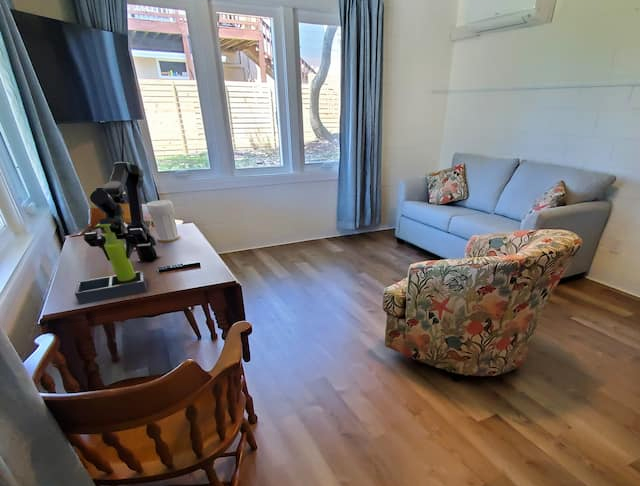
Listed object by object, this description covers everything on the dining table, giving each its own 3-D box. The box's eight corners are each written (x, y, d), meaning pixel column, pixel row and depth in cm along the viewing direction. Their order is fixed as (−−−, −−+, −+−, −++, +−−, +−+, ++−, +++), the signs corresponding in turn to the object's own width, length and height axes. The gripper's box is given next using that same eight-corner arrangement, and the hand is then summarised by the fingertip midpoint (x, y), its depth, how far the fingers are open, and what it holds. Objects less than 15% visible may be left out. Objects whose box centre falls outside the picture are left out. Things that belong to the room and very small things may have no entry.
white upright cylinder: (175, 242, 191) (165, 205, 182) (152, 242, 192) (141, 206, 182) (184, 235, 201) (175, 199, 192) (162, 235, 201) (152, 200, 192)
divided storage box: (82, 291, 146) (77, 281, 144) (145, 280, 154) (142, 270, 152) (79, 304, 138) (74, 293, 135) (146, 291, 146) (143, 281, 143)
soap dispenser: (124, 273, 149) (102, 220, 138) (139, 274, 147) (118, 221, 136) (112, 280, 144) (88, 226, 133) (127, 281, 143) (105, 227, 131)
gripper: (74, 210, 133) (77, 252, 131) (134, 205, 138) (139, 246, 135) (89, 226, 144) (93, 265, 141) (145, 221, 148) (149, 259, 145)
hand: (118, 259), depth 140 cm, fingers closed on soap dispenser, 6 cm apart
